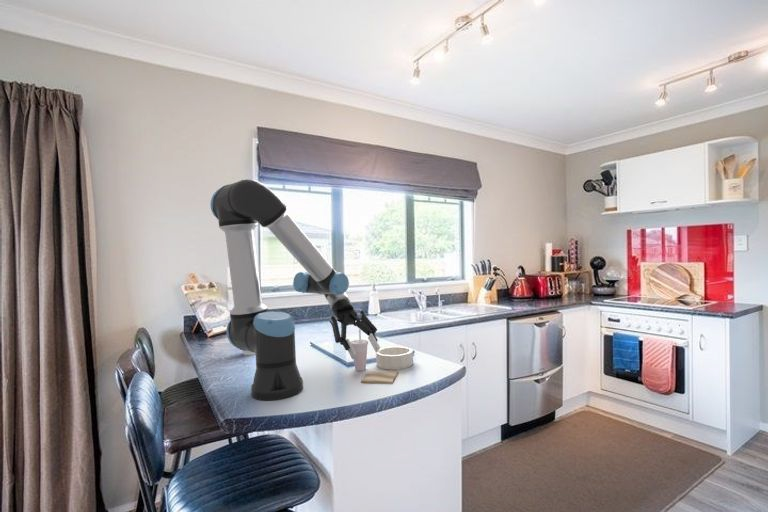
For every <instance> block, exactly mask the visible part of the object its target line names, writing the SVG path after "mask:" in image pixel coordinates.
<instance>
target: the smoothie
mask: <svg viewBox="0 0 768 512" xmlns="http://www.w3.org/2000/svg"><path fill="white" fill-rule="evenodd" d="M361 331H362V330H361V329H359V328H358V333H359V334H358V336H359V339H354V340H351V341H350V342H351V344H352V346H353V348H354V350H355V352H356V356H355V358H354V359H353V364H354V370H355V371H357V372H361V371H362V372H363V371H365V370H367V359H368V357H367V355H368V345H369V340H367V339H362V335H361V334H362V333H361Z"/></svg>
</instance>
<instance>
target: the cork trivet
mask: <svg viewBox="0 0 768 512" xmlns="http://www.w3.org/2000/svg"><path fill="white" fill-rule="evenodd" d="M398 374H399V371H396V370H387V371H386V370H382V371H381V370H368V372H366V374H365V375H364V377H362V379H361V380H360V383H361V384H390V385H391V384H394V382H395V380H396V377H397V376H398Z"/></svg>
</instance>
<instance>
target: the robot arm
mask: <svg viewBox="0 0 768 512" xmlns="http://www.w3.org/2000/svg"><path fill="white" fill-rule="evenodd" d="M209 205H210V210H211V212H212V214H213V216H214V217H215V218H216V220H218V228H219V229H220V230H221V231H223V232H224V234H225V242H226V250H227V251H226V252H227V258H228V268H229V274H230V281H231V290H232V291H231V292H232V298H233V307H232V309H231V311H230V312H229V316H230V320H229V322H228V323H227V325H226V338H227V339H228V341H229V343H230V344H231V345H232V346H233V347H235V348H236V349H238V350H241V351H242V352H243V351H250V352H254V353H256V354H255V368H256V369H255V373H254V375H253V381H252V384H251V386H250V387H251V388H250V390H251V391H250V392H251V393H250V396H251V397H252V398H253V399H255V398H256V400H259V399H260V400H259V401H276V400H281V399H286V398H289V397H292V396H296V395H297V394H300V393H301V392H302V391H303V389H304V381H303V378H302V377H301V374H300V370H299V367H298V365H297V355H296V353H297V352H296V334H295V329H296V326H295V321H294V320H295V319H294V317H293V316H292V315H291V314H289V313H288V312H283V311H268V309H269V308H268V306H267V305H266V304H264V303H263V301H262V292H261V286H260V285H261V284H260V275H259V274H260V273H259V266H258V258H257V251H256V250H257V249H256V242H255V234H254V233H255V232H254V231H255V229H256V227H257V226H258V224H259V225H260V226H261V227H262V228H267V229H268V230H269V231H270V232H271V234H273V235H274V236H275V238H276V239H277V240H278V241H279V242H280V243H281V244H282V245H283V247H284V248H285V249H287V251H288V252H289V253H290V254H291V255H292V257H293V258H294V259H295V260H296V261H297V262H298V263H299V264H300V266H302V268H303V269H304V270H305V271H298V272H297V273H296V274H295V275H294V277H293V282H292V286H293V289H294V291H296V292H297V293H302V294H314V295H316V294H317V295H323V296H324V297H325V299H326V302H327V303H328V305H329V307H330V309H331V311H332V312H333V315H331V317H330V320H329V323H330V325H331V328H332V332H333V337H334V341H335V343H336V344H340V345H342V346H343V348H344V350H345V351H347V352H348V355H349V356H350V358H351V359H352V360H354V358H355V356H356V352H355V350H354V348H353V346H352V344H351V341H350V338H347V328H348V327H347V326H349V325H350V326H351V325H353V326H355V327H357V328H358V330H359V329H360V330H361V331H362V332H363V333H365V334H366V335H367V336H368V337H367V339H368V342H369V343H370V345H371V346H372V348H373V350H374V352H375V354H376V353H377V352H378V351H379V349H381V346H380V344H379V343H378V340H379V339H378V338H377V336H376V333H377V331H378V328H377V327H376V326H375V325H374V324H373V323H372V321H371V320H370V319H369V318H368V317H367V316H366V314H365V311H364V310H361V311H360V312H357V311H356V310H355V308H354V305H353V304H352V302H351V300H350V299H349V296H348V294H347V291H348V288H349V286H350V279H349V278H348V275H347V274H346V273H344V272H340V271H336V270H335V268H334V267H333V266H332V265H331V264H330V262H329V261H328V260H327V259H326V257H325V256H324V255H323V254H322V253H321V252H320V250H319V249H318V248H317V247H316V246H315V244H314V243H313V242H312V241H311V240H310V238H309V237H308V236H307V235H306V234H305V233H304V231H303V229H301V227H299V225H298V224H297V223H296V222H295V220H294V219H293V218H292V217H291V216H290V214H289V213H288V207H287V205H286V204H285V203H284V202H283V201H282V199H281V198H280V197H279V196H278V195H277V194H276V193H275V192H273V190H272V189H270V188H269V187H268V186H267V185H265V184H264V183H263V182H260V181H258V180H255V179H248V178H246V179H241V180H238V181H236V182H233V183H230V184H226V185H223V186H221V187H220V188H218V189H217V190H216V191H215V192H213V195H212V197H211V200H210V204H209ZM339 323H340V324H341V325H340V328H339ZM340 330H341V331H340Z"/></svg>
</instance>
